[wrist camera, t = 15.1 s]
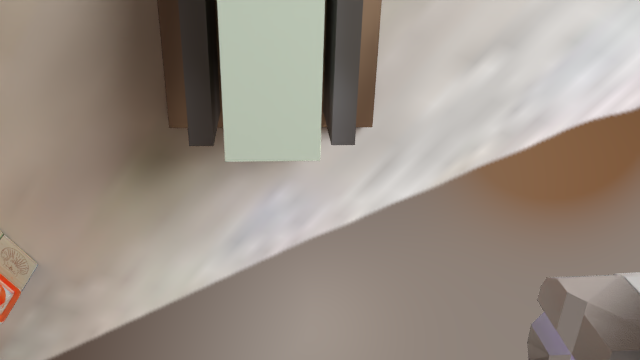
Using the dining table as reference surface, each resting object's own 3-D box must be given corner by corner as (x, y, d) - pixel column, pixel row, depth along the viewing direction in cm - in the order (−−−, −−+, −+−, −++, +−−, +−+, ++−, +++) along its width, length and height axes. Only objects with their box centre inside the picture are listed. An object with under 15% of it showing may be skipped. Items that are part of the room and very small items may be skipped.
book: (235, 89, 34) (223, 163, 25) (228, -85, 29) (212, -72, 21) (306, 89, 34) (321, 163, 25) (309, -83, 30) (328, -69, 21)
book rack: (172, 120, 35) (154, 164, 30) (148, -145, 29) (120, -152, 23) (369, 119, 36) (387, 162, 31) (387, -137, 30) (414, -141, 25)
